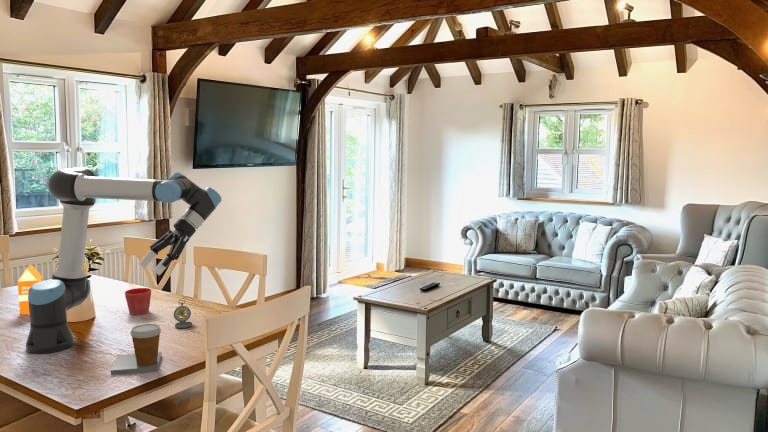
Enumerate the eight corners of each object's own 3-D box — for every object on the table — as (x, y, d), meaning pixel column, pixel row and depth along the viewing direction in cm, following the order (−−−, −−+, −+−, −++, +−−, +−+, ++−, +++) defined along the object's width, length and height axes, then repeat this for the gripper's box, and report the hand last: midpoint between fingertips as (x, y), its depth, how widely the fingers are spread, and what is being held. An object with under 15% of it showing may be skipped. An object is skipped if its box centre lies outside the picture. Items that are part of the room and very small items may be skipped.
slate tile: (110, 374, 194) (110, 370, 194) (118, 359, 207) (118, 355, 207) (157, 371, 197) (156, 366, 197) (161, 355, 211) (161, 351, 211)
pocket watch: (182, 330, 239) (181, 305, 238) (168, 326, 243) (167, 302, 242) (198, 324, 246) (198, 300, 244) (184, 321, 250) (183, 297, 249)
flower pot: (119, 314, 259) (118, 292, 257) (139, 307, 269) (138, 286, 268) (139, 317, 255) (137, 295, 254) (157, 310, 265) (156, 289, 264)
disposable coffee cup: (125, 365, 198) (123, 330, 196) (145, 356, 206) (144, 322, 205) (148, 369, 194) (146, 333, 193) (168, 359, 203) (167, 325, 202)
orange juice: (44, 308, 268) (41, 263, 265) (40, 313, 259) (37, 267, 257) (24, 309, 265) (21, 264, 263) (19, 315, 257) (16, 269, 254)
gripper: (210, 234, 214) (170, 282, 206) (181, 226, 233) (143, 269, 225) (196, 221, 210) (154, 269, 202) (167, 213, 228) (128, 257, 220)
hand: (148, 269), depth 213 cm, fingers open, 13 cm apart
